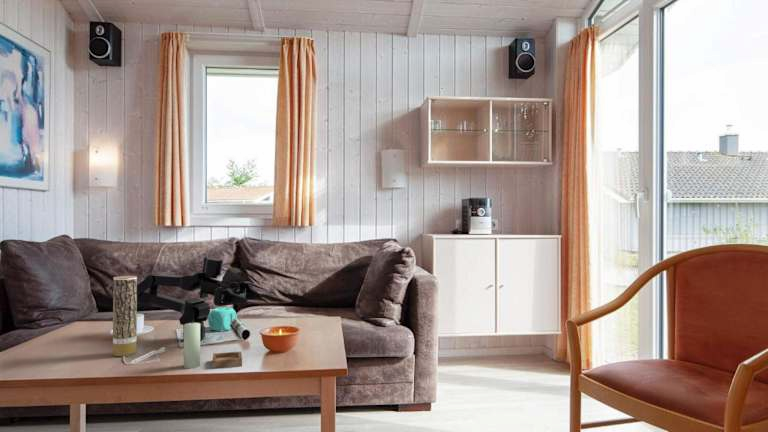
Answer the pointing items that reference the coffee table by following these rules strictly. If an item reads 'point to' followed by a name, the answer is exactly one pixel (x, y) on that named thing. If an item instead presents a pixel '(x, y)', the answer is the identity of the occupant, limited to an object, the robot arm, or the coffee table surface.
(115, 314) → the wooden log cylinder
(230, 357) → the holder
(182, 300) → the robot arm
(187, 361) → the candle
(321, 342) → the coffee table surface
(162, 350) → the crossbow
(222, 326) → the decorative dice
